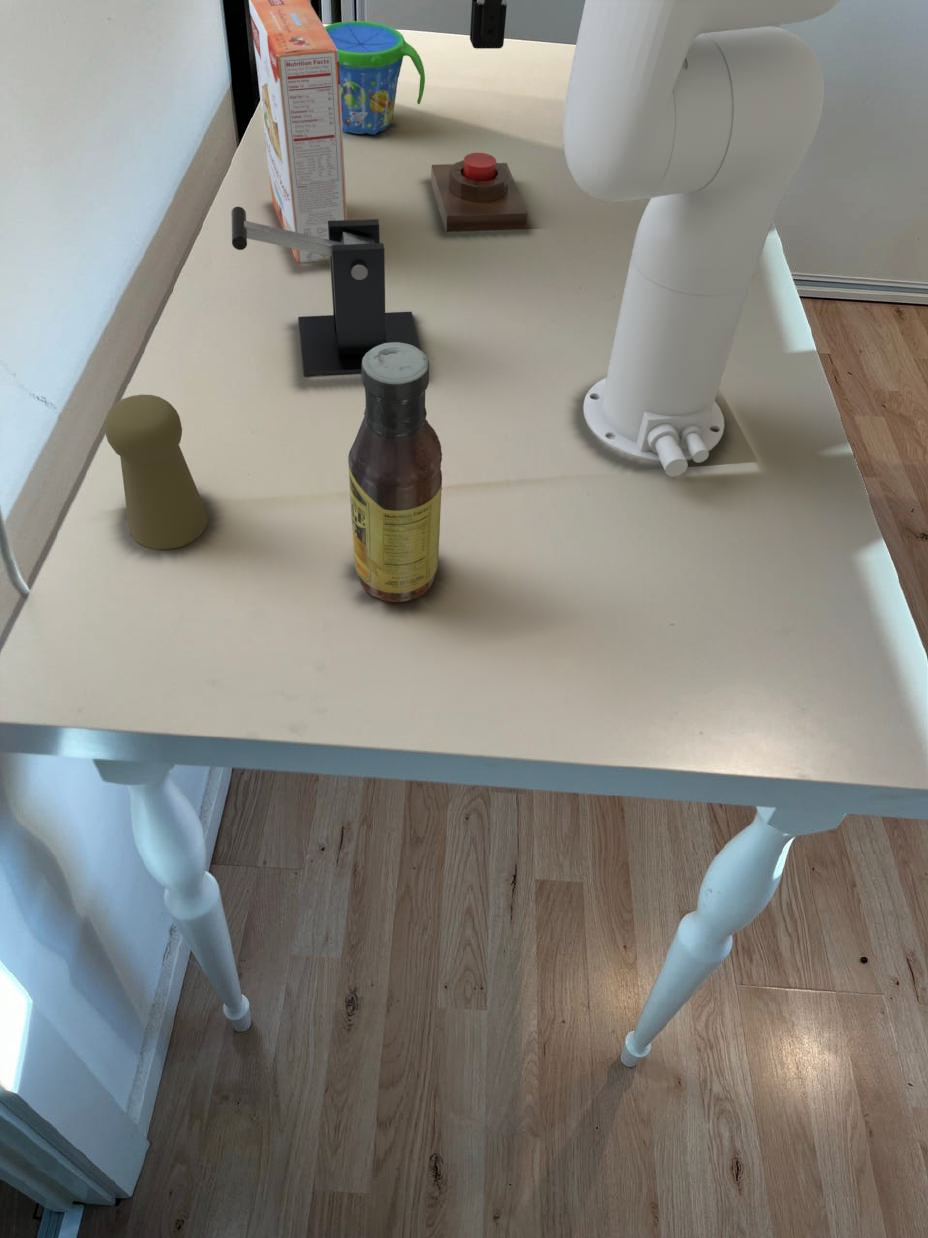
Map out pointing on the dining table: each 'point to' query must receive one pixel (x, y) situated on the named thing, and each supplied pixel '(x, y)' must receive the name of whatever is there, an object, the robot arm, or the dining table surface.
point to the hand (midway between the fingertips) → (486, 44)
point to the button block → (477, 200)
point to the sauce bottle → (395, 477)
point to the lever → (285, 236)
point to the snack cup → (370, 73)
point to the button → (479, 167)
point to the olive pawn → (155, 473)
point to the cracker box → (300, 117)
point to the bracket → (353, 307)
